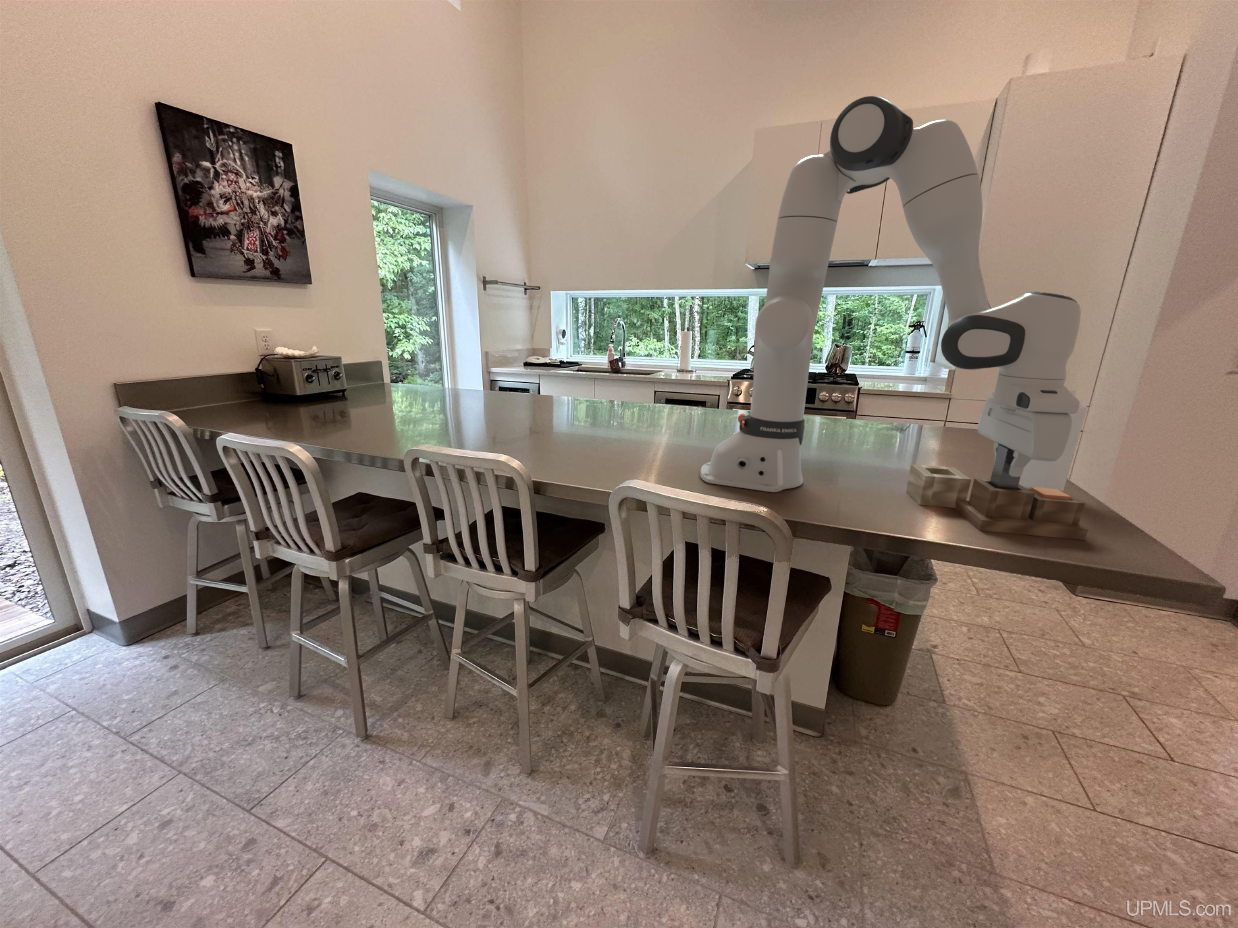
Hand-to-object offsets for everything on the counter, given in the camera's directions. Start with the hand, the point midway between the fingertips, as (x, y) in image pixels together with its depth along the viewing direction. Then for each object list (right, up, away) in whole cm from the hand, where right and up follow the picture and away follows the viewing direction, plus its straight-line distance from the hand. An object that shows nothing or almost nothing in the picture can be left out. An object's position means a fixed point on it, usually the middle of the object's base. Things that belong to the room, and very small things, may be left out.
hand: (1006, 471), depth 89 cm
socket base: (+3, -9, +2) cm, 10 cm away
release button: (+7, -7, +1) cm, 10 cm away
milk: (+21, -5, +19) cm, 29 cm away
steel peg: (0, -7, +2) cm, 8 cm away
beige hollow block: (-4, -6, +13) cm, 15 cm away
